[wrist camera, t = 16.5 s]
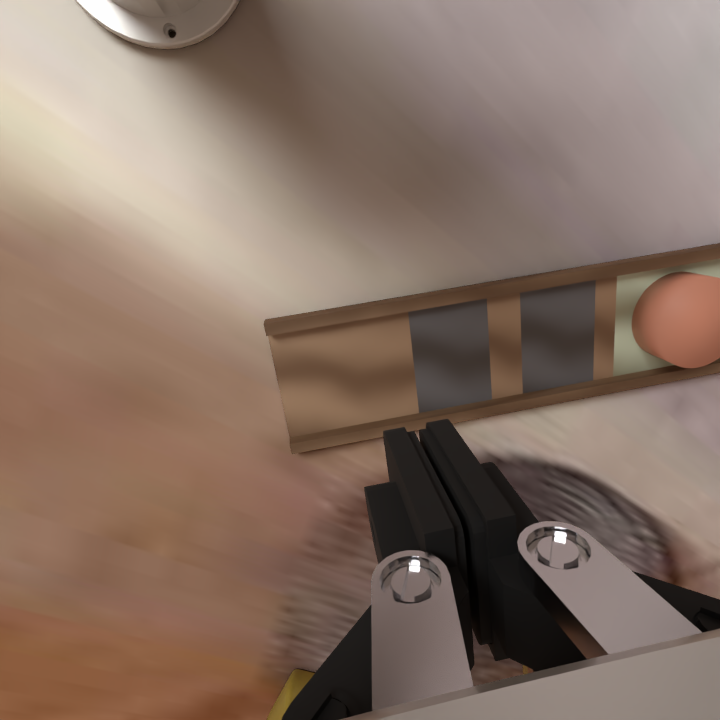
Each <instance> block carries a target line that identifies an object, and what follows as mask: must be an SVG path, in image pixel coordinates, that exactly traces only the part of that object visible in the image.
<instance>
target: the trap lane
mask: <svg viewBox="0 0 720 720" xmlns="http://www.w3.org/2000/svg"><path fill="white" fill-rule="evenodd" d="M681 271H683V272H691V273H696V274H701V275H707V276H712V277H717V278H720V243H718V244H712V245H706V246H700V247H694V248H688V249H682V250H677V251H671V252H665V253H659V254H653V255H647V256H641V257H635V258H629V259H623V260H617V261H611V262H605V263H599V264H593V265H587V266H581V267H575V268H569V269H564V270H558V271H552V272H546V273H540V274H534V275H528V276H522V277H516V278H510V279H504V280H498V281H492V282H486V283H480V284H474V285H468V286H462V287H457V288H451V289H445V290H439V291H433V292H427V293H421V294H415V295H409V296H403V297H397V298H391V299H385V300H379V301H373V302H367V303H361V304H355V305H350V306H344V307H338V308H332V309H326V310H320V311H314V312H308V313H302V314H296V315H290V316H284V317H278V318H272V319H266V320H265V321H264V327H265V332H266V336H268V338H269V342H270V347H271V352H272V356H273V361H274V366H275V370H276V375H277V380H278V384H279V389H280V394H281V398H282V403H283V408H284V412H285V417H286V422H287V426H288V431H289V436H290V448H291V453H292V454H296V453H301V452H306V451H311V450H317V449H322V448H327V447H332V446H338V445H343V444H348V443H353V442H358V441H364V440H369V439H374V438H379V437H383V431H385V430H390V429H396V428H401V427H405V429H406V431H407V432H410V431H416V430H420V429H426V423H427V422H432V421H438V420H443V419H449V420H450V422H451V423H452V424H453V423H458V422H463V421H468V420H474V419H479V418H484V417H489V416H495V415H500V414H505V413H510V412H516V411H521V410H526V409H531V408H537V407H542V406H547V405H552V404H557V403H563V402H568V401H573V400H578V399H584V398H589V397H594V396H599V395H605V394H610V393H615V392H620V391H626V390H631V389H636V388H641V387H646V386H652V385H657V384H662V383H667V382H673V381H678V380H683V379H688V378H694V377H699V376H704V375H709V374H715V373H720V358H719V359H717V360H715V361H714V362H712V363H710V364H708V365H705V366H702V367H698V368H683V367H679V366H677V365H674V364H672V363H670V362H667V361H665V360H663V359H661V358H658V357H656V356H654V355H651V354H649V353H647V352H645V351H644V350H643V349H641V348H640V346H639V345H638V344H637V342H636V341H635V339H634V336H633V333H632V316H633V312H634V309H635V306H636V304H637V302H638V300H639V298H640V297H641V295H642V294H643V292H644V291H645V290H646V289H647V288H648V287H649V286H650V285H651V284H652V283H653V282H655V281H656V280H658V279H659V278H661V277H663V276H665V275H667V274H670V273H674V272H681Z"/></svg>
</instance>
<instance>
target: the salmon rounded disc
mask: <svg viewBox="0 0 720 720" xmlns="http://www.w3.org/2000/svg"><path fill="white" fill-rule="evenodd" d="M632 333H633V336H634V339H635V341H636V342H637V344H638V345H639V346H640V348H641V349H643V350H644V351H645V352H647V353H649V354H651V355H654V356H656V357H658V358H661V359H663V360H665V361H667V362H670V363H672V364H674V365H677V366H679V367H683V368H698V367H702V366H705V365H708V364H710V363H712V362H714V361H715V360H717V359H719V358H720V278H717V277H712V276H707V275H701V274H696V273H691V272H683V271H681V272H674V273H670V274H667V275H665V276H663V277H661V278H659V279H658V280H656V281H655V282H653V283H652V284H651V285H650V286H649V287H648V288H647V289H646V290H645V291H644V292H643V294H642V295H641V297H640V298H639V300H638V302H637V304H636V306H635V309H634V312H633V316H632Z"/></svg>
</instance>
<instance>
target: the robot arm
mask: <svg viewBox="0 0 720 720" xmlns="http://www.w3.org/2000/svg"><path fill="white" fill-rule="evenodd" d="M75 1H76V2H77V3H78V4H79V5H80V6H81V7H82V8H83V9H84V10H85V11H86V12H87V13H88V14H89V15H90V16H91V17H92V18H93V19H95V20H96V21H97V22H98V23H100V24H101V25H102V26H103V27H105V28H106V29H107V30H109V31H110V32H112V33H114V34H116V35H118V36H119V37H121V38H123V39H125V40H127V41H130V42H133V43H135V44H138V45H141V46H144V47H151V48H158V49H173V48H182V47H186V46H189V45H192V44H196V43H198V42H200V41H202V40H204V39H205V38H207V37H209V36H211V35H212V34H214V33H215V32H216V31H217V30H218V29H219V28H220V27H221V26H222V25H224V24H225V23H226V21H227V20H228V19H229V17H230V16H231V14H232V13H233V12H234V10H235V9H236V7H237V5H238V3H239V1H240V0H75ZM171 31H175V32H176V36H175V37H174V38H170V36H169V33H170V32H171ZM419 437H420V442H419V440H418V438H417V436H416V434H415V432H414V431H410V432H407V431H406V429H405V427H401V428H396V429H390V430H385V431H383V438H384V445H385V452H386V460H387V467H388V474H389V481H390V482H387V483H382V484H377V485H372V486H367V487H364V489H365V497H366V503H367V509H368V515H369V521H370V527H371V532H372V537H373V542H374V546H375V551H376V555H377V559H378V566H377V567H376V569H375V570H374V572H373V575H372V581H371V606H370V607H369V608H368V609H367V610H366V612H365V613H364V614H363V615H362V617H361V618H360V619H359V620H358V621H357V623H356V624H355V625H354V626H353V628H352V629H351V630H350V631H349V632H348V634H347V635H346V636H345V637H344V639H343V640H342V641H341V642H340V643H339V645H338V646H337V647H336V648H335V650H334V651H333V652H332V653H331V654H330V656H329V657H328V658H327V659H326V661H325V662H324V663H323V664H322V665H321V667H320V668H319V669H318V670H317V672H316V673H315V674H314V675H313V676H312V678H311V679H310V680H309V681H308V683H307V684H306V685H305V686H304V687H303V689H302V690H301V691H300V692H299V694H298V695H297V696H296V697H295V698H294V700H293V701H292V702H291V704H290V705H289V707H288V708H287V710H286V712H285V713H284V715H283V717H282V720H720V600H719V599H716V598H713V597H710V596H707V595H704V594H701V593H698V592H694V591H691V590H688V589H685V588H682V587H679V586H676V585H673V584H670V583H667V582H664V581H661V580H658V579H655V578H652V577H648V576H645V575H642V574H639V573H636V572H633V571H631V570H630V569H629V568H628V567H626V566H625V565H624V564H623V563H622V562H621V561H619V560H618V559H617V558H616V557H615V556H614V555H613V554H611V553H610V552H609V551H608V550H607V549H606V548H605V547H603V546H602V545H601V544H600V543H599V542H598V541H596V540H595V539H594V538H593V537H592V536H591V535H589V534H588V533H586V532H585V531H583V530H582V529H580V528H578V527H575V526H573V525H571V524H567V523H562V522H557V521H544V522H538V520H537V519H536V518H535V516H534V515H533V514H532V512H531V511H530V510H529V508H528V507H527V506H526V504H525V503H524V502H523V501H522V499H521V498H520V497H519V495H518V494H517V493H516V491H515V490H514V489H513V487H512V486H511V485H510V483H509V482H508V481H507V479H506V478H505V477H504V476H503V474H502V473H501V472H500V470H499V469H498V468H497V466H496V465H495V464H494V463H492V462H488V463H483V464H480V463H479V462H478V460H477V459H476V457H475V456H474V455H473V453H472V452H471V450H470V449H469V447H468V446H467V445H466V443H465V442H464V440H463V439H462V437H461V436H460V435H459V433H458V432H457V430H456V429H455V428H454V426H453V425H452V423H451V422H450V420H449V419H443V420H438V421H432V422H427V423H426V429H420V430H419ZM472 629H473V631H474V634H475V636H476V638H477V641H478V643H479V644H480V645H484V644H488V645H489V647H490V650H491V652H492V654H493V656H494V659H495V661H498V660H503V659H507V658H510V659H512V660H514V661H516V662H519V663H521V664H522V668H523V674H524V675H520V676H515V677H511V678H507V679H503V680H499V681H494V682H490V683H486V684H482V685H478V686H474V687H473V683H472V678H471V673H470V671H471V669H472V667H473V666H474V653H473V636H472Z"/></svg>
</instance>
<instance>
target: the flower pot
mask: <svg viewBox="0 0 720 720" xmlns="http://www.w3.org/2000/svg"><path fill="white" fill-rule="evenodd" d="M314 674H315V673H312V672H308V671H304V670H300V669H295V670H294V671H293V672H292V673H291V675H290V677H289V679H288V680H287V682H286V684H285V686H284V688H283V690H282V691H281V693H280V695H279V697H278V698H277V700H276V702H275V704H274V706H273V707H272V709H271V711H270V713H269V715H268V718H267V720H282V717H283V715H284V713H285V712H286V710H287V708H288V707H289V705H290V704H291V702H292V701H293V700H294V698H295V697H296V696H297V695H298V694H299V692H300V691H301V690H302V689H303V687H304V686H305V685H306V684H307V683H308V681H309V680H310V679H311V678H312V676H313V675H314Z"/></svg>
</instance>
